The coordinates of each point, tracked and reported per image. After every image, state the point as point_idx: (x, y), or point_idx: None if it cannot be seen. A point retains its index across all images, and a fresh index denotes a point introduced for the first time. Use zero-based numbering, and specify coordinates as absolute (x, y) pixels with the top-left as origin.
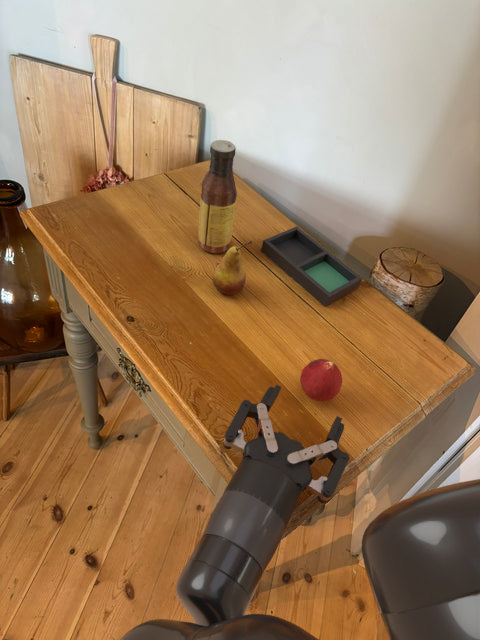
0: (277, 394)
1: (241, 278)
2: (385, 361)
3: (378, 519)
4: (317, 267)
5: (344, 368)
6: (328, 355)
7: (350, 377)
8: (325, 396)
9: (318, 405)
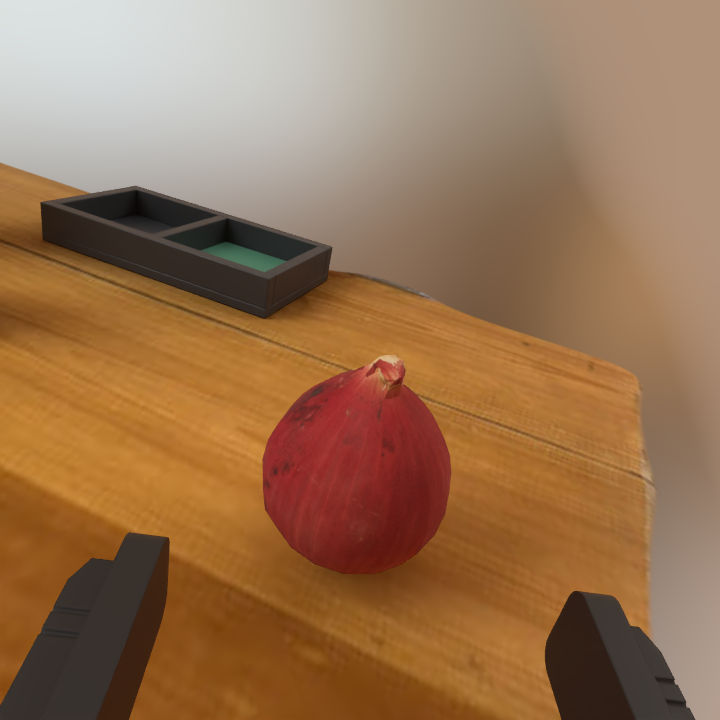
0: (153, 601)
1: None
2: (483, 400)
3: None
4: (212, 251)
5: None
6: None
7: None
8: (412, 530)
9: (373, 597)
